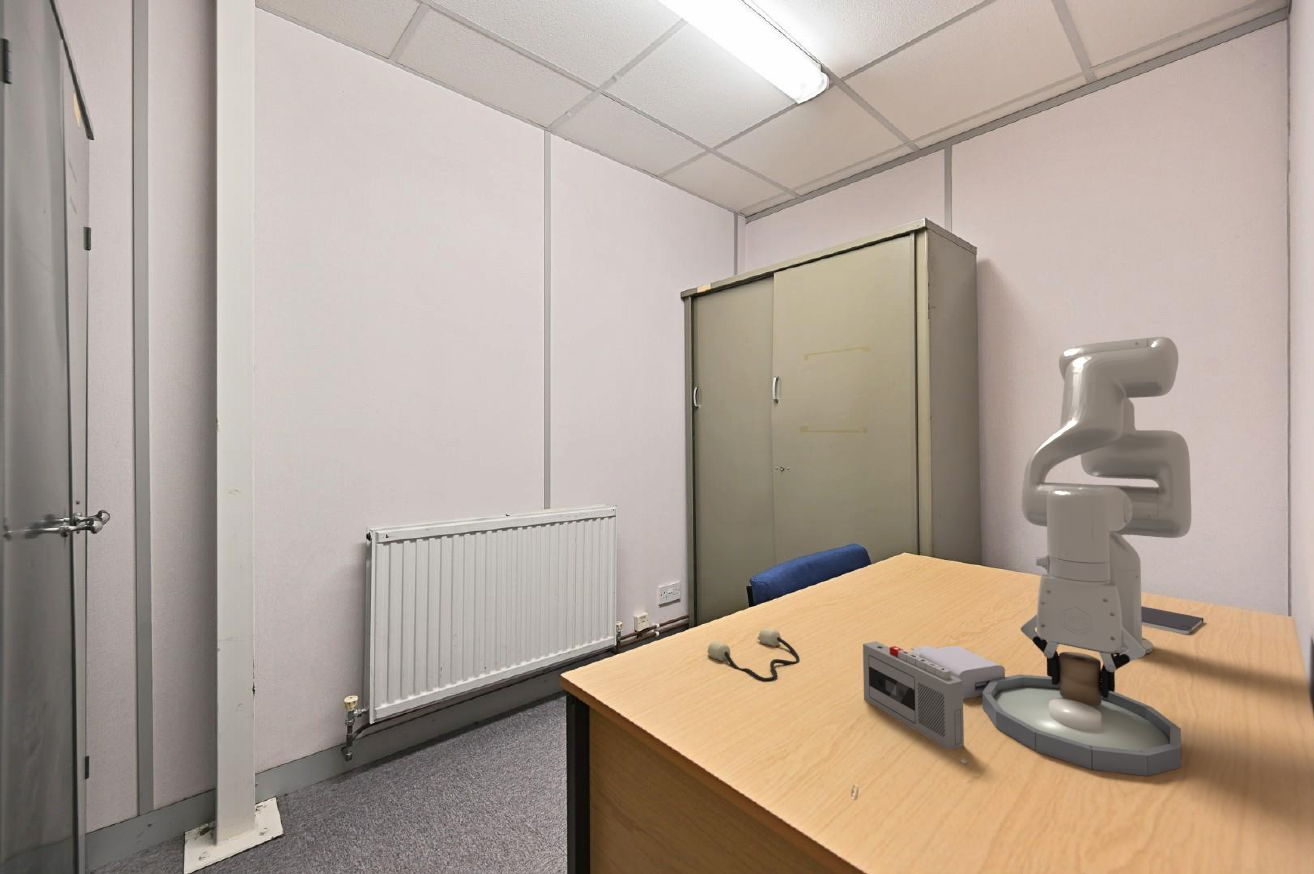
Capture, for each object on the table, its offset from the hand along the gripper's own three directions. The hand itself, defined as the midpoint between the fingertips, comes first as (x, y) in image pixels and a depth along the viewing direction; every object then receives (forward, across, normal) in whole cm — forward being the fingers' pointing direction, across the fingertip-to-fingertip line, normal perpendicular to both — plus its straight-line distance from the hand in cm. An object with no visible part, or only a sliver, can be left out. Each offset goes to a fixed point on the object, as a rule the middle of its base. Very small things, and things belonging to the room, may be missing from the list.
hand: (1080, 686), depth 82 cm
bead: (+2, 0, 0) cm, 2 cm away
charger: (+4, -18, -1) cm, 19 cm away
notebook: (+4, +3, +60) cm, 61 cm away
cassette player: (+4, -18, -20) cm, 28 cm away
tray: (+3, 0, -6) cm, 7 cm away
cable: (+4, -47, -16) cm, 49 cm away
